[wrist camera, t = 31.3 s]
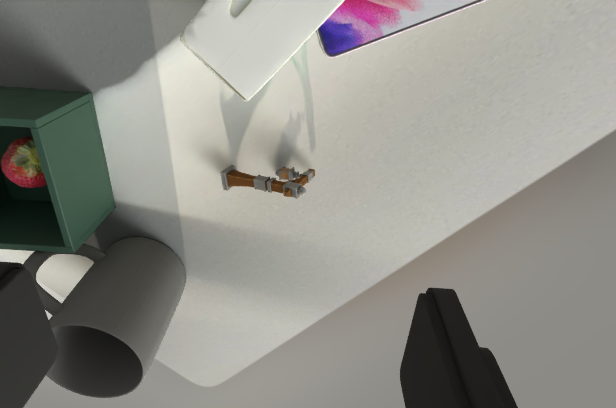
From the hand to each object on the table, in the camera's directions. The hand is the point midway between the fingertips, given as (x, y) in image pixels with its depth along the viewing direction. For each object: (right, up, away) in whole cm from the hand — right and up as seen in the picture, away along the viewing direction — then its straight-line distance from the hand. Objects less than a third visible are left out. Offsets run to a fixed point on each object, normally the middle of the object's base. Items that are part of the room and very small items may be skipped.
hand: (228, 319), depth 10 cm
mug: (-17, -3, +32) cm, 37 cm away
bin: (-22, +8, +27) cm, 35 cm away
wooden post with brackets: (-2, +6, +27) cm, 28 cm away
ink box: (0, +18, +20) cm, 27 cm away
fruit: (-22, +7, +26) cm, 35 cm away
